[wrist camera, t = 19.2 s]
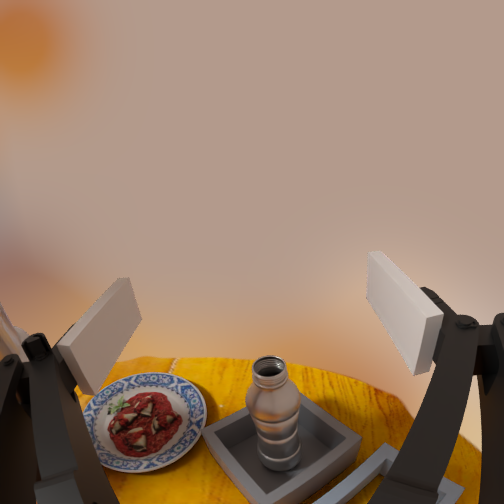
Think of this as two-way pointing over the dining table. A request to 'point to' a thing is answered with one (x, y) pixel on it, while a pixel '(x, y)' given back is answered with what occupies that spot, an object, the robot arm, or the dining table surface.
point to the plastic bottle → (275, 413)
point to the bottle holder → (381, 463)
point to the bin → (290, 481)
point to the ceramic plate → (145, 421)
